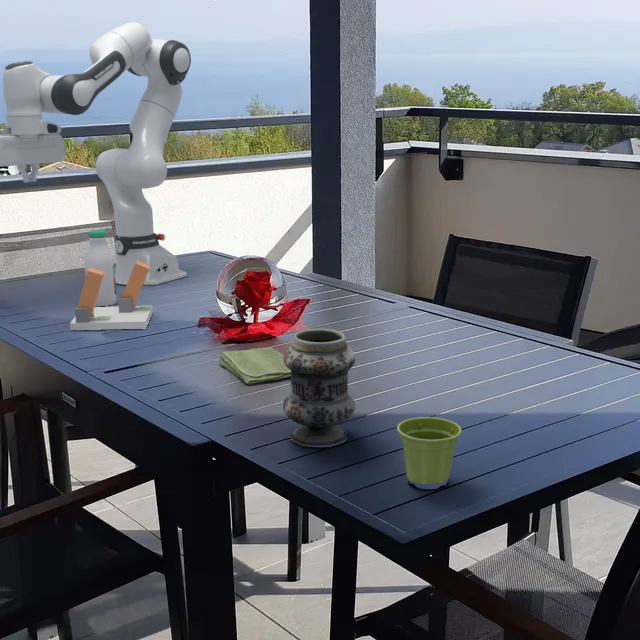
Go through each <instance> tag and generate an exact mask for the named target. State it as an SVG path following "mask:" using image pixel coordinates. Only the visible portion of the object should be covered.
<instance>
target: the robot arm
mask: <svg viewBox="0 0 640 640" xmlns="http://www.w3.org/2000/svg"><path fill="white" fill-rule="evenodd" d="M89 59H90V62H91V64H92V65H91V66H90V67H89V68H87V69H86V70H85V71H83V72H81V73H73V74H71V73H70V74H58V75H57V74H56V75H55V74H51V73H48V72H46V71H44V70H43V69H41V68H40V67H38V66H37V65H36V64H35V62H33V61H30V60H29V61H28V60H27V61H26V60H25V61H17V62H12V63H9V64H7V65H5V67H4V69H3V73H2V74H3V75H2V89H3V91H2V92H3V99H4V102H5V105H6V107H5V108H6V110H5V122H6V128H0V167H2V168H3V167H11V166H12V167H13V166H16V167H17V170H18V171H19V173H20V175H21V176H22V182H23V183H32V182H35V183H36V182H37V174H38V173H39V170H40V167H41V166H40V164H47V163H60V162H63V161H64V160H66V149H65V148H66V147H65V141H64V139H63V137H62V135H61V134H60V133H61V132H62V127H61V125H60V124H57V123H53V122H50V121H47V120H44V119H43V116H42V115H43V113H46V114H65V115H72V116H79V115H82V114H84V113H86V112H87V111H88V109H89V108H90V107H91V106H92V104H93V103H94V100H95V99H96V98H97V96H98V95H99V94H100V93H101V92H103V90H105V89H106V88H107V87H109V86H110V85H111V84H112V83H114V81H116V80H117V79H118V78H119V77H120V76H121V75H122V74H123V73H125V72H126V71H127V72H129V73H131V74H132V75H135V76H138V77H145V78H147V85H146V88H145V91H144V92H143V94H142V96H141V97H140V100H139V103H138V104H137V107H136V109H135V111H134V114H133V116H132V118H131V120H130V122H129V130H130V133H132V140H131V143H130V144H131V145H130V146H129V148H118V147H116V148H112V149H107V150H105V151H103V152H101V153H100V154H99V155H98V157H97V159H96V160H95V172H96V175H97V176H98V178H100V180H101V181H102V182H103V183H104V186H105V187H106V189H107V192H108V194H109V197H110V201H111V203H112V208H113V214H114V226H115V234H114V248H115V254H116V258H115V260H116V261H115V262H116V263H115V280H116V284H119V285H126V286H127V283H128V281H129V278H130V276H131V273H132V271H133V269H134V266H135V264H136V262H137V261H140V262H142V263H144V264H147V265H149V266H151V267H150V269H149V272H148V274H147V276H146V279H145V281H144V284H143V285H144V286H145V285H147V286H156V285H160V284H163V283H167V282H171V281H174V280H178V279H181V278H185V277H187V276H188V273H187V272H186V271H185V270H182V269H180V266H179V261H178V258H177V257H176V255H175V254H173V253H172V252H171V251H169V250H167V248H165V247H163V246H162V245H161V244H160V242H159V241H162V242H163V241H165V240H166V235H165V234H164V233H158V234H157V233H156V232H154V217H153V215H154V213H153V207H152V205H151V204H150V203H149V201H148V200H147V199H146V197H145V195H144V193H143V190H144V189H151V188H156V187H159V186H161V185H162V184H163V183H164V181H165V180H166V178H167V174H168V167H167V166H168V165H167V162H166V160H165V159H164V148H165V147H164V146H165V142H166V139H167V137H168V134H169V133H170V129H171V127H172V124H173V122H174V119H175V117H176V115H177V112H178V111H179V107H180V103H181V100H182V96H183V87H182V85H181V83H182V82H184V80H185V79H186V76H187V74H188V73H189V70H190V68H191V64H192V63H191V62H192V57H191V53H190V49H189V48H188V46H187V45H185V44H184V43H182V42H181V41H178V40H175V39H164V38H158V37H157V38H152V37H151V34H150V32H149V31H148V29H147V28H146V27H145V26H144V25H143V24H141V23H140V22H135V21H130V22H127V23H123V24H120V25H118V26H116V27H114V28H112V29H110V30H107V32H105V33H104V34H102V35H100V36H99V37H98V38H97V39H96V40H94V42H93V43H92V44H91V45H90V48H89ZM28 165H29V166H30V168H31V171H30V174H28V172H27V166H28ZM142 189H143V190H142Z"/></svg>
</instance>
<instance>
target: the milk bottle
mask: <svg viewBox="0 0 640 640" xmlns="http://www.w3.org/2000/svg"><path fill="white" fill-rule="evenodd" d="M87 235H88V240H89V247H88V250H87V252H86V256H85V260H84V271H85V272H84V273H85V275H86V274H87V271H88V269H89V268H93V269H96V270H100V271H103V272H104V276H103V280H102V283H101V287H100V290H99V294H98V298H97V301H96V305H95V306H105V307H110V306H109V305H111V306H115V305H116V304H117V302H118V299H117V283H116V280H115V270H116V267H115V262H114V257H113V255H112V252H111V250H110V248H109V246H108V244H107V231H106V230H105V229H92V230H89V231H88V234H87Z"/></svg>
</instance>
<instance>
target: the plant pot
mask: <svg viewBox="0 0 640 640" xmlns="http://www.w3.org/2000/svg"><path fill="white" fill-rule="evenodd" d="M396 430H397V433H398V434H399V439H400V441H401V442H402V448H403V455H404V461H405V462H404V463H405V464H404V465H405V474H406V479H407V478H408V479H409V480H410V481H412V482H415V483H420V484H436V483H442V482H445V481H446V480H448V479H449V480H450V476H451V471H452V470H451V469H452V463H453V458H454V454H455V447H456V445H457V443H458V438H459V436H460V435H461V434H462V427H461V425H459V424H458V423H456V422H454V421H451V420H449V419H445V418H441V417H427V416H423V417H412V418H409V419H405V420H402V421H401V422H399V423H398V424H397V427H396Z"/></svg>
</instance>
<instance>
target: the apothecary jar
mask: <svg viewBox="0 0 640 640" xmlns="http://www.w3.org/2000/svg"><path fill="white" fill-rule="evenodd" d="M283 356H284V363H285V365H286V366H287V368H289V369H290V370H291V377H290V392H289V393H287V395H286V396H285V398H284V400H283V403H282V408H283V413H284V414H285V415H286V416H287V417H288V419H290V420H291V421H293V422H294V423H295V424H299V425H300V426H299V427H297V428H296V429H294V430H292V431H291V433H290V435H289V438H291V439H290V441H291V440H293V441H294V442H296V443H298V444H300V445H305V446H330V445H333V444H337V443H340V442H343V441H344V440H345V439H346V438H348V437H347V436H346V434H348V435H349V433H348V431H346V430H345V429H344V428H342V427H339V426H338V425H340V424H343V423H345V422H346V421H348V419H350V418H351V417H352V416H353V414H354V413H355V411H356V402H355V400H354V398H353V397H352V396H351V395H350V393H349V389H348V387H349V386H348V383H349V382H348V381H349V380H348V379H349V371H350V370H351V368H353V366H354V364H355V362H356V355H355V352H354V351H353V349H352V348H351V347H350V346H349V345H348V344H347V341H346V337H345V334H344V332H341V331H338V330H335V329H330V328H309V329H302V330H300V331H297V332H296V333H295V334H294V336H293V342H292V345H291V346H289V347H288V348H287V349H286V351H285V352H284V354H283ZM294 442H293V443H294ZM300 445H299V446H300Z"/></svg>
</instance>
